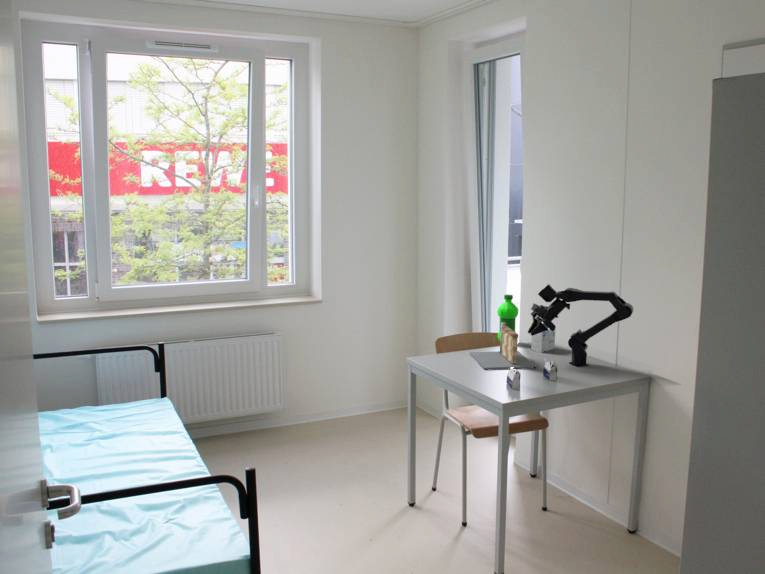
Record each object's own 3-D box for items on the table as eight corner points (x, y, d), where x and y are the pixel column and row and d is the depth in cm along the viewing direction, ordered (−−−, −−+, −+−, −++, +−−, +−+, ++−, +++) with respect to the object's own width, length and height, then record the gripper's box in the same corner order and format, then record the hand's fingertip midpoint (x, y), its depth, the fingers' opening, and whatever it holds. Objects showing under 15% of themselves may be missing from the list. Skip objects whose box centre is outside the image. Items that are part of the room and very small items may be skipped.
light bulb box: (543, 346, 343) (544, 325, 341) (555, 349, 337) (556, 328, 336) (530, 350, 336) (531, 328, 334) (541, 353, 331) (542, 331, 329)
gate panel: (500, 353, 323) (501, 326, 321) (506, 353, 324) (507, 326, 321) (511, 363, 307) (512, 334, 305) (517, 363, 307) (518, 334, 305)
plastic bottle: (492, 342, 349) (493, 295, 345) (506, 339, 356) (508, 292, 351) (506, 346, 341) (508, 298, 337) (521, 343, 348) (523, 295, 343)
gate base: (517, 352, 331) (519, 320, 328) (536, 368, 305) (537, 333, 302) (469, 354, 328) (470, 321, 325) (483, 369, 302) (485, 334, 300)
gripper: (535, 294, 318) (511, 317, 319) (549, 301, 300) (524, 326, 301) (551, 310, 321) (527, 333, 321) (566, 318, 303) (541, 343, 303)
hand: (529, 333), depth 312 cm, fingers open, 4 cm apart
